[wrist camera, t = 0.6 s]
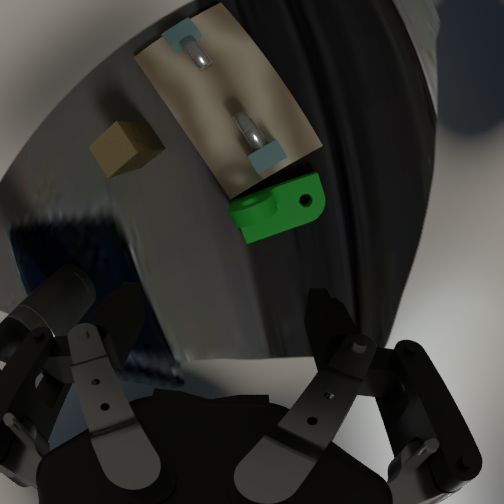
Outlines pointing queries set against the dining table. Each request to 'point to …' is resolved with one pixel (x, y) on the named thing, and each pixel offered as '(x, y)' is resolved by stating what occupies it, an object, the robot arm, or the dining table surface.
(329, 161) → the dining table surface
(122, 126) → the tan square-topped block
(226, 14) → the board
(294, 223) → the mechanical part
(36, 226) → the dining table surface
